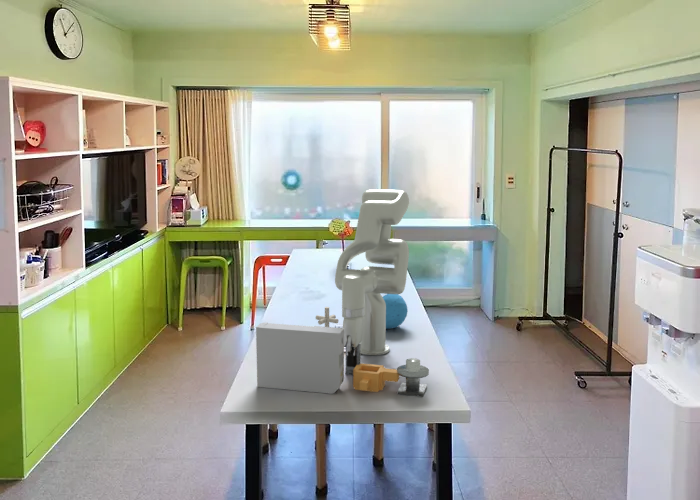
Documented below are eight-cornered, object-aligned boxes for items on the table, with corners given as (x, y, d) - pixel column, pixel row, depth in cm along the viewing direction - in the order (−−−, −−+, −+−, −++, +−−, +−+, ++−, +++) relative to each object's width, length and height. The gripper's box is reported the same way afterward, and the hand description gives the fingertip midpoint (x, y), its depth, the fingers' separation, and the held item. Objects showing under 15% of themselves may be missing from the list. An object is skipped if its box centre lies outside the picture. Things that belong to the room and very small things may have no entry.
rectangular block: (347, 370, 236) (347, 342, 234) (360, 372, 235) (360, 343, 233) (345, 373, 233) (345, 345, 231) (358, 375, 232) (358, 346, 230)
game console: (263, 380, 227) (261, 322, 223) (344, 387, 221) (344, 327, 218) (256, 387, 222) (255, 327, 218) (339, 394, 216) (340, 333, 212)
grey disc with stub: (399, 383, 225) (400, 354, 223) (430, 386, 223) (431, 356, 221) (393, 395, 216) (394, 364, 214) (425, 398, 213) (426, 367, 211)
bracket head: (358, 380, 228) (358, 363, 226) (400, 384, 224) (401, 367, 223) (348, 394, 216) (348, 375, 215) (393, 398, 213) (393, 380, 211)
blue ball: (390, 319, 298) (390, 285, 295) (415, 330, 282) (415, 294, 279) (358, 324, 291) (358, 289, 288) (382, 336, 275) (383, 299, 272)
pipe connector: (330, 336, 274) (330, 312, 272) (309, 332, 279) (309, 308, 277) (344, 330, 282) (344, 306, 280) (324, 326, 287) (324, 303, 285)
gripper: (348, 304, 239) (348, 355, 242) (335, 317, 223) (335, 371, 227) (370, 306, 237) (369, 357, 240) (358, 319, 221) (357, 374, 225)
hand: (353, 364), depth 234 cm, fingers closed on rectangular block, 3 cm apart
